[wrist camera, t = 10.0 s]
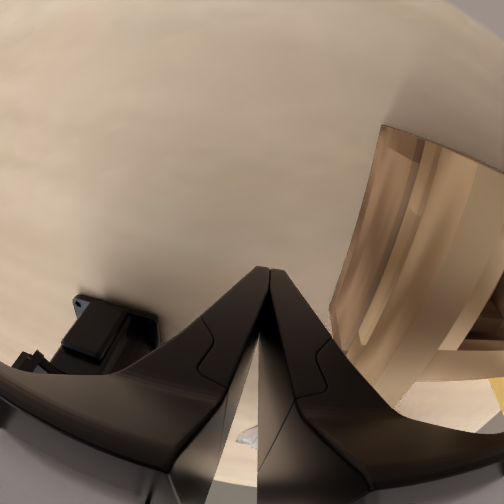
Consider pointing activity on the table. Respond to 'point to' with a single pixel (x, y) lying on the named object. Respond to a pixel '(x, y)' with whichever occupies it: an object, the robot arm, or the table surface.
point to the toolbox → (391, 240)
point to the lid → (437, 281)
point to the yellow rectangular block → (498, 390)
